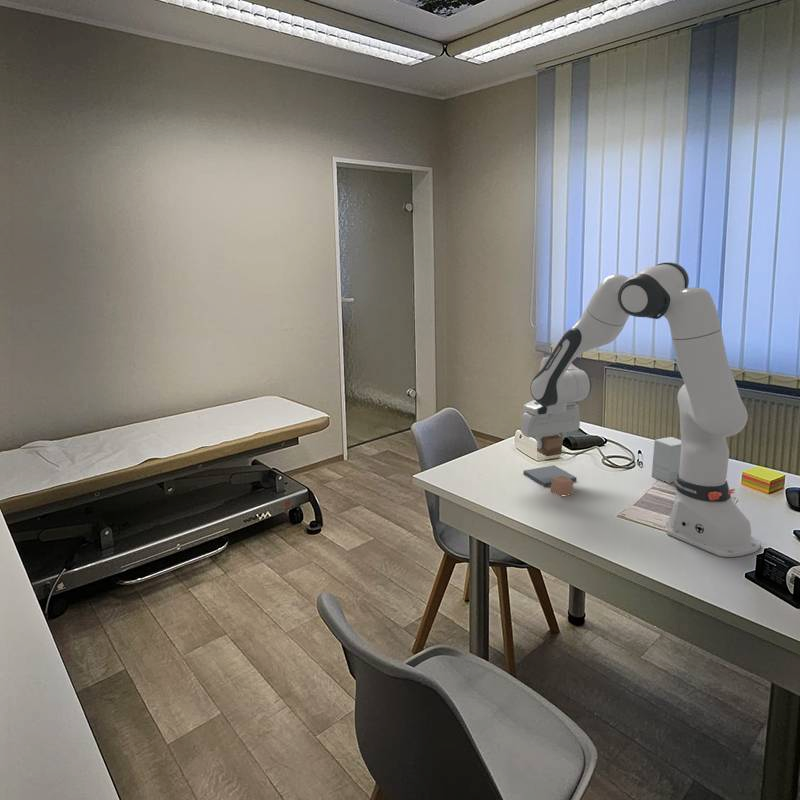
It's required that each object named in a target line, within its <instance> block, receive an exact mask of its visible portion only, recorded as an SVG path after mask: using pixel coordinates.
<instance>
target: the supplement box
mask: <svg viewBox="0 0 800 800" xmlns="http://www.w3.org/2000/svg"><path fill="white" fill-rule="evenodd" d="M652 454H653V455H652V456H653V457H652V465H651V466H652V467H651V469H652V470H651V477H652V476H653V477H652V478H655V479H657V480H659V479H660V481H661V480H662V482H664V481H665V482H664V483H666V482H667V483H666V484H668V483H669V484H672V483H671V482H674V483H676V479H677V475H678V474H679V468H680V458H681V439H678V438H676V437H673V436H669V437H663V438H657V439H654V444H653V453H652Z"/></svg>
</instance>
